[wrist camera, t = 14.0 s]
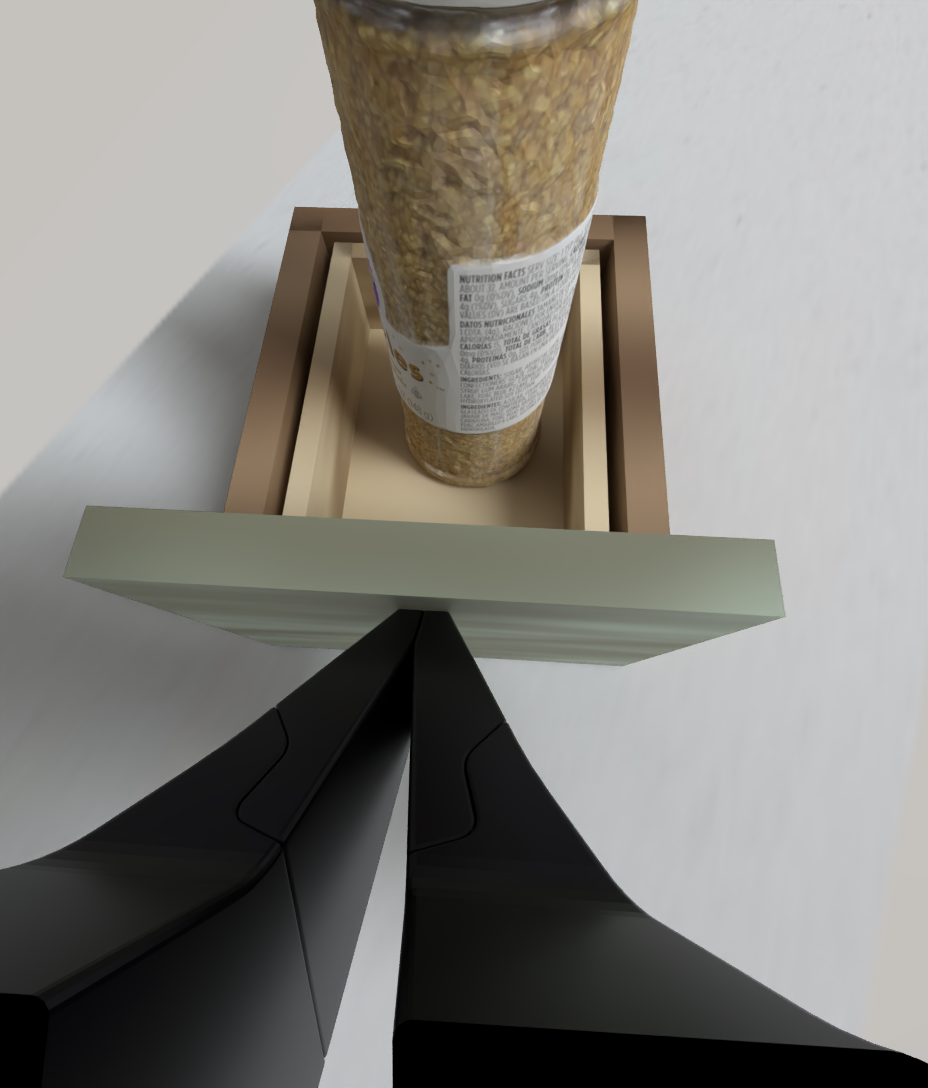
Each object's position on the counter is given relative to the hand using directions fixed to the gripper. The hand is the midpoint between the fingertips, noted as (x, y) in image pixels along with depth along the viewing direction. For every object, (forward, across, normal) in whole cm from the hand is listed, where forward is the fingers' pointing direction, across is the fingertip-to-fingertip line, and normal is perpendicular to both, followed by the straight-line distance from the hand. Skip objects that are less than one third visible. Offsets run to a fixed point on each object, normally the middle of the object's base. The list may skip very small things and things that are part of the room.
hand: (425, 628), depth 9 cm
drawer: (+9, 0, 0) cm, 9 cm away
